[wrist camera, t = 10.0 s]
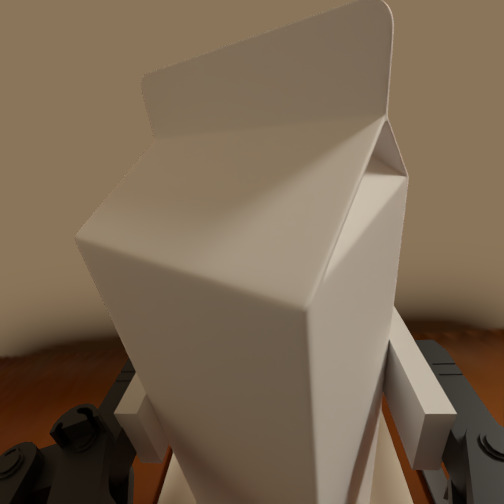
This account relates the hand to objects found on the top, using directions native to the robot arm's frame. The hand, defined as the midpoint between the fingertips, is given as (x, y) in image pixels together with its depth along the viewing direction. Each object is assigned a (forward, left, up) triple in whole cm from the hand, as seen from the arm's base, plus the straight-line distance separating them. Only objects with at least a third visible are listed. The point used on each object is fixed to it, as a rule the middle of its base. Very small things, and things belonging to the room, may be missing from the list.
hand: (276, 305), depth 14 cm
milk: (0, +5, -12) cm, 13 cm away
